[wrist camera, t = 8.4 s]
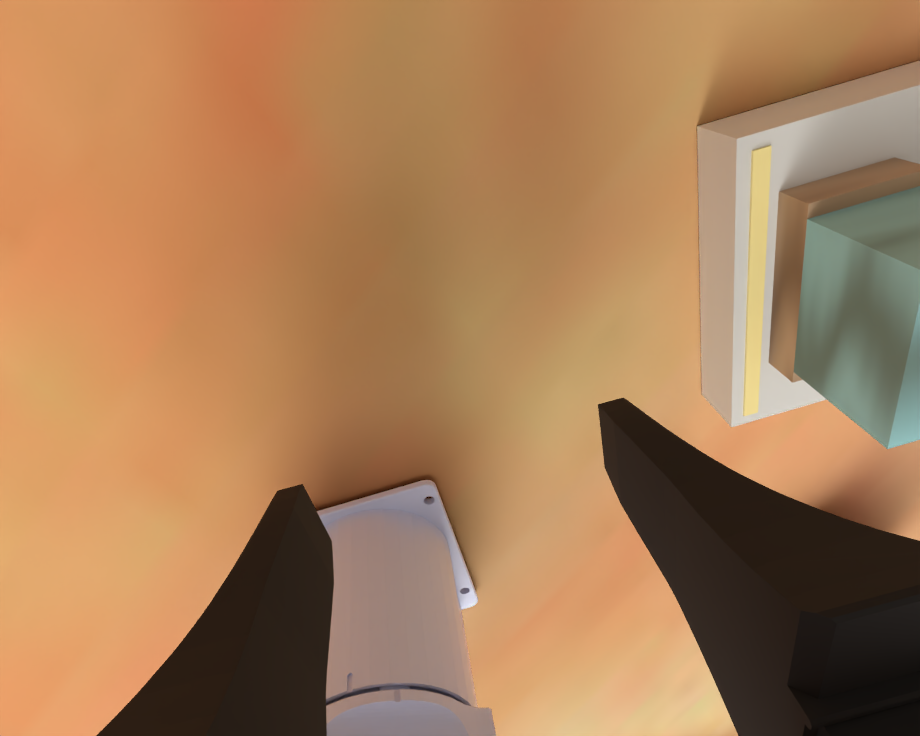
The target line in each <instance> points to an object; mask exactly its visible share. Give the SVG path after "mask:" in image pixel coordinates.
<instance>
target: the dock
mask: <svg viewBox="0 0 920 736" xmlns="http://www.w3.org/2000/svg"><path fill="white" fill-rule="evenodd" d="M697 147H698V204H699V262H700V319H701V377H702V395H703V397H704V398H705V399H706V400H707V401H708V402H709V403H710V404H711V405H712V407H713V408H714V409H715V410H716V411H717V412H718V413H719V414H720V415H721V416H722V418H723V419H724V420H725V421H726V422H727V423H728V424H729V425H730V426H731V427H734V426H738V425H741V424H745V423H748V422H751V421H755V420H758V419H762V418H765V417H768V416H772V415H775V414H779V413H782V412H786V411H789V410H792V409H796V408H799V407H803V406H806V405H809V404H813V403H816V402H820V401H823V400H827V399H826V398H824V397H823V396H822V395H821V394H820V393H818V392H817V391H816V390H815V389H813V388H812V387H811V386H810V385H809V384H807V383H806V382H805V381H804V380H800V381H797V382H793V383H792V382H791V381H790V380H789V379H787V378H786V377H785V376H784V375H783V374H781V373H780V372H779V371H778V370H777V369H776V368H774V367H773V366H772V365H771V364H770V363H769V346H770V329H771V313H772V296H773V280H774V263H775V246H776V230H777V213H778V197H779V191H782V190H786V189H789V188H792V187H796V186H799V185H803V184H806V183H809V182H813V181H816V180H820V179H823V178H826V177H830V176H833V175H837V174H840V173H843V172H847V171H850V170H854V169H857V168H860V167H864V166H867V165H870V164H874V163H877V162H881V161H884V160H887V159H891V158H894V157H895V158H899V159H902V160H906V161H910V162H914V163H918V164H920V60H919V61H916V62H913V63H909V64H906V65H902V66H899V67H896V68H892V69H889V70H885V71H882V72H879V73H875V74H872V75H869V76H865V77H862V78H858V79H855V80H852V81H848V82H845V83H841V84H838V85H835V86H831V87H828V88H825V89H821V90H818V91H814V92H811V93H808V94H804V95H801V96H797V97H794V98H791V99H787V100H784V101H781V102H777V103H774V104H770V105H767V106H764V107H760V108H757V109H754V110H750V111H747V112H743V113H740V114H737V115H733V116H730V117H726V118H723V119H720V120H716V121H713V122H710V123H706V124H703V125H699V126H697Z"/></svg>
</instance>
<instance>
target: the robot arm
mask: <svg viewBox="0 0 920 736" xmlns="http://www.w3.org/2000/svg"><path fill="white" fill-rule="evenodd" d="M598 409H599V418H600V427H601V437H602V446H603V455H604V464H605V469H606V471H607V473H608V476H609V478H610V480H611V483H612V485H613V487H614V490H615V492H616V494H617V496H618V498H619V501H620V503H621V505H622V507H623V508H624V510H625V512H626V513H627V515H628V517H629V518H630V520H631V522H632V524H633V525H634V527H635V529H636V530H637V532H638V534H639V535H640V537H641V539H642V540H643V542H644V544H645V545H646V547H647V549H648V550H649V552H650V554H651V555H652V557H653V559H654V560H655V562H656V564H657V565H658V567H659V569H660V570H661V572H662V574H663V575H664V577H665V579H666V580H667V582H668V584H669V586H670V588H671V589H672V591H673V593H674V595H675V597H676V599H677V601H678V603H679V605H680V607H681V609H682V611H683V613H684V615H685V618H686V620H687V622H688V624H689V626H690V628H691V630H692V632H693V634H694V637H695V639H696V641H697V643H698V645H699V647H700V650H701V652H702V654H703V656H704V658H705V661H706V663H707V665H708V667H709V669H710V672H711V674H712V676H713V678H714V680H715V683H716V685H717V687H718V690H719V692H720V694H721V697H722V699H723V701H724V703H725V706H726V708H727V710H728V713H729V715H730V717H731V719H732V722H733V724H734V726H735V729H736V731H737V733H738V736H920V541H918V540H914V539H911V538H907V537H903V536H899V535H896V534H892V533H888V532H885V531H881V530H878V529H875V528H872V527H869V526H866V525H863V524H859V523H856V522H853V521H850V520H847V519H844V518H841V517H839V516H836V515H833V514H830V513H827V512H825V511H822V510H819V509H817V508H814V507H812V506H809V505H807V504H804V503H802V502H799V501H797V500H794V499H792V498H789V497H787V496H785V495H783V494H780V493H778V492H776V491H773V490H771V489H769V488H767V487H765V486H763V485H761V484H759V483H757V482H755V481H753V480H751V479H749V478H747V477H744V476H743V475H741V474H739V473H737V472H735V471H733V470H731V469H730V468H728V467H726V466H724V465H723V464H721V463H719V462H718V461H716V460H714V459H712V458H711V457H709V456H707V455H706V454H704V453H702V452H701V451H699V450H698V449H696V448H695V447H693V446H691V445H690V444H688V443H687V442H685V441H684V440H682V439H681V438H679V437H678V436H676V435H675V434H673V433H672V432H670V431H669V430H667V429H666V428H665V427H663V426H662V425H660V424H659V423H658V422H656V421H655V420H653V419H652V418H651V417H649V416H648V415H646V414H645V413H644V412H642V411H641V410H640V409H638V408H637V407H636V406H634V405H633V404H632V403H630V402H629V401H628V400H626V399H624V398H620V399H616V400H613V401H609V402H605V403H602V404H598ZM429 496H431V497H432V498H430V499H426V497H429ZM477 602H478V597H477V593H476V590H475V588H474V585H473V582H472V580H471V577H470V574H469V572H468V569H467V566H466V564H465V561H464V558H463V556H462V553H461V550H460V548H459V545H458V543H457V540H456V537H455V535H454V532H453V529H452V527H451V524H450V521H449V519H448V516H447V513H446V511H445V508H444V505H443V503H442V500H441V497H440V495H439V492H438V489H437V487H436V484H435V483H434V482H433V481H431V480H422V481H419V482H415V483H412V484H408V485H405V486H401V487H398V488H395V489H391V490H388V491H384V492H381V493H378V494H374V495H371V496H367V497H364V498H360V499H357V500H354V501H350V502H347V503H343V504H340V505H337V506H333V507H330V508H326V509H323V510H319V511H316V509H315V507H314V505H313V503H312V501H311V499H310V498H309V496H308V494H307V492H306V490H305V488H304V486H303V484H301V485H297V486H294V487H290V488H286V489H282V490H279V491H277V493H276V494H275V496H274V498H273V499H272V501H271V503H270V505H269V506H268V508H267V510H266V512H265V513H264V515H263V517H262V519H261V521H260V522H259V524H258V526H257V528H256V529H255V531H254V533H253V535H252V536H251V538H250V540H249V542H248V543H247V545H246V547H245V548H244V550H243V552H242V554H241V555H240V557H239V559H238V560H237V562H236V564H235V565H234V567H233V569H232V570H231V572H230V573H229V575H228V577H227V578H226V580H225V581H224V583H223V584H222V586H221V587H220V589H219V590H218V592H217V593H216V595H215V597H214V598H213V600H212V601H211V603H210V604H209V606H208V607H207V608H206V610H205V611H204V613H203V614H202V615H201V617H200V618H199V620H198V621H197V622H196V624H195V625H194V626H193V628H192V629H191V630H190V631H189V633H188V634H187V635H186V637H185V638H184V639H183V641H182V642H181V643H180V644H179V646H178V647H177V648H176V649H175V651H174V652H173V653H172V654H171V655H170V657H169V658H168V659H167V660H166V661H165V662H164V664H163V665H162V666H161V667H160V668H159V669H158V670H157V672H156V673H155V674H154V675H153V676H152V677H151V679H150V680H149V681H148V682H147V683H146V684H145V685H144V687H143V688H142V689H141V690H140V691H139V692H138V693H137V694H136V696H135V697H134V698H133V699H132V700H131V701H130V702H129V703H128V704H127V705H126V706H125V707H124V708H123V709H122V710H121V711H120V712H119V713H118V715H117V716H116V717H115V718H114V719H113V720H112V721H111V722H110V723H109V724H108V725H107V726H106V727H105V728H104V729H103V730H102V731H101V732H100V733H99V734H98V735H97V736H496V732H495V727H494V722H493V717H492V711H491V709H490V708H478V706H477V700H476V694H475V688H474V682H473V677H472V671H471V665H470V659H469V653H468V647H467V641H466V635H465V630H464V624H463V618H462V612H461V610H462V609H465V608H469V607H472V606H474V605H475V604H476V603H477Z"/></svg>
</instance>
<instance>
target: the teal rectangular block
mask: <svg viewBox="0 0 920 736" xmlns="http://www.w3.org/2000/svg"><path fill="white" fill-rule="evenodd" d="M769 363H770V364H771V365H772V366H773V367H774V368H776V369H777V370H778V371H779V372H780V373H781V374H783V375H784V376H785V377H786V378H787V379H789V380H790V381H791V382H792V383H793V382H797V381H800V380H804V381H805V382H806V383H807V384H809V385H810V386H811V387H812V388H813V389H815V390H816V391H817V392H818V393H820V394H821V395H822V396H823V397H824V398H826V399H827V400H828V401H829V402H831V403H832V404H833V405H834V406H835V407H837V408H838V409H839V410H840V411H842V412H843V413H844V414H845V415H846V416H848V417H849V418H850V419H851V420H853V421H854V422H855V423H856V424H857V425H859V426H860V427H861V428H862V429H864V430H865V431H866V432H867V433H868V434H870V435H871V436H872V437H873V438H875V439H876V440H877V441H878V442H879V443H881V444H882V445H883V446H884V447H886V448H887V449H889V448H893V447H896V446H900V445H903V444H907V443H910V442H913V441H917V440H920V164H918V163H914V162H910V161H906V160H902V159H899V158H895V157H894V158H891V159H887V160H884V161H881V162H877V163H874V164H870V165H867V166H864V167H860V168H857V169H854V170H850V171H847V172H843V173H840V174H837V175H833V176H830V177H826V178H823V179H820V180H816V181H813V182H809V183H806V184H803V185H799V186H796V187H792V188H789V189H786V190H782V191H779V197H778V213H777V230H776V246H775V263H774V280H773V296H772V313H771V329H770V346H769Z"/></svg>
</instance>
